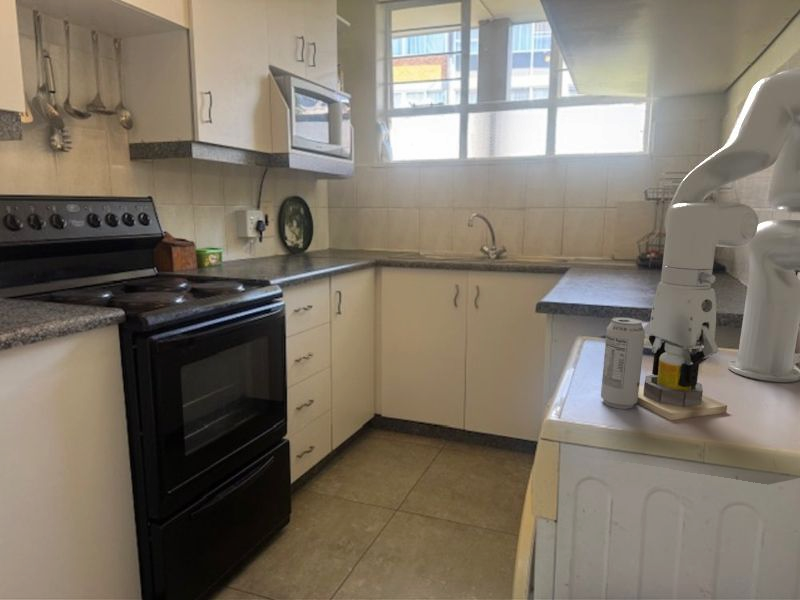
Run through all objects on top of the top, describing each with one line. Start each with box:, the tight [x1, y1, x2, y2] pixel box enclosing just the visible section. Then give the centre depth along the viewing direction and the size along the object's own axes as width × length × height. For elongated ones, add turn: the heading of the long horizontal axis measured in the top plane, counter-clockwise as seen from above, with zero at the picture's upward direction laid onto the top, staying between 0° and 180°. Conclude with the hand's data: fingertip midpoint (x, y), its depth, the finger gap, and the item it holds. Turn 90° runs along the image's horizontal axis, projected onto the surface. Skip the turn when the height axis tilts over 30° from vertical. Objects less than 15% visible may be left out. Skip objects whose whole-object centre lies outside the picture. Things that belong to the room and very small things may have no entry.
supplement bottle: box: [657, 342, 691, 391], centre depth 95 cm, size 5×5×10 cm
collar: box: [636, 374, 728, 421], centre depth 96 cm, size 12×12×4 cm
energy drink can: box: [600, 316, 646, 410], centre depth 94 cm, size 6×6×15 cm
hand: (673, 378), depth 95 cm, fingers closed on supplement bottle, 5 cm apart
